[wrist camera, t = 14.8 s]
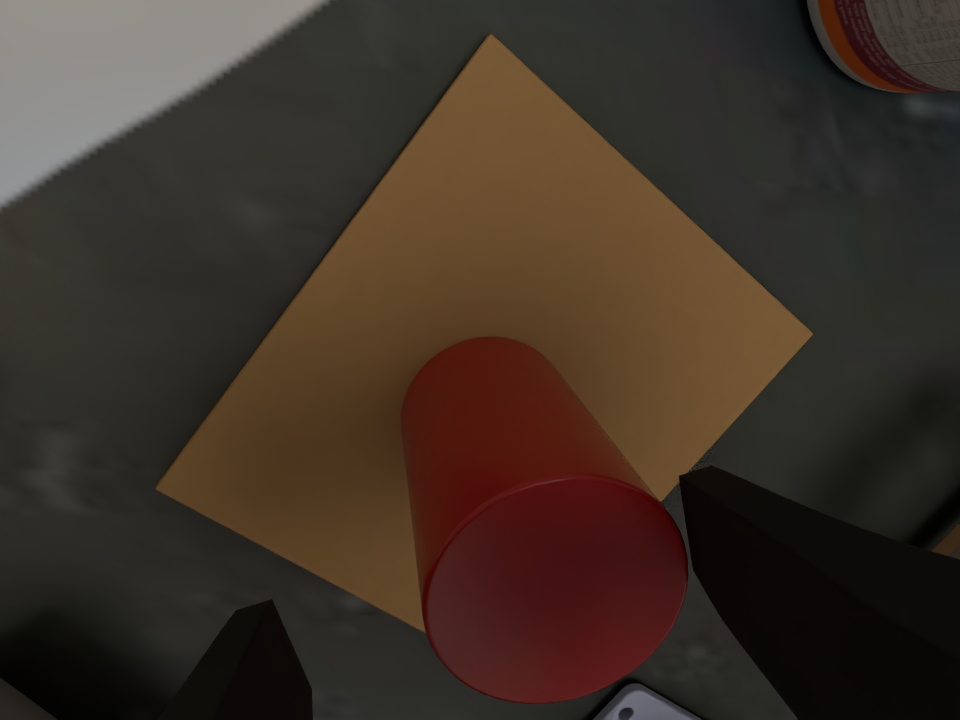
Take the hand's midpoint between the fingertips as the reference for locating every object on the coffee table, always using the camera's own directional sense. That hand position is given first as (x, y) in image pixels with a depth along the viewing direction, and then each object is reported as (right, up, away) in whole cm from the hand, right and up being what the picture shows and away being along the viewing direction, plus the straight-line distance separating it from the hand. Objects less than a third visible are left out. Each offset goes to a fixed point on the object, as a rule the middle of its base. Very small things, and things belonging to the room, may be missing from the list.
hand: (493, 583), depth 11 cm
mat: (0, +3, +7) cm, 8 cm away
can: (0, +2, +7) cm, 7 cm away
